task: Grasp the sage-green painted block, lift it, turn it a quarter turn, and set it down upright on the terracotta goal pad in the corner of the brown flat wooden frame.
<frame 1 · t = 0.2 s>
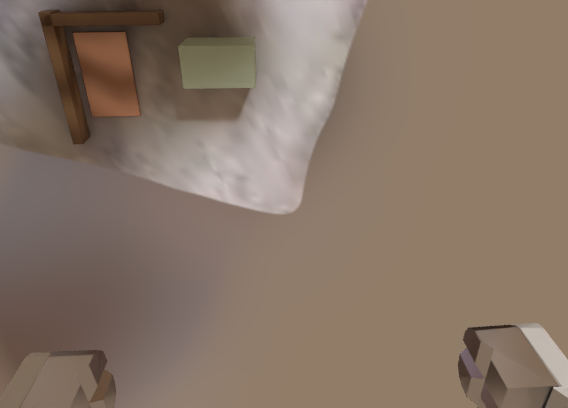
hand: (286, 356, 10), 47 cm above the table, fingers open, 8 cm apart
brown flat wooden frame: (108, 75, 52), on the table
sage block: (222, 56, 52), on the table
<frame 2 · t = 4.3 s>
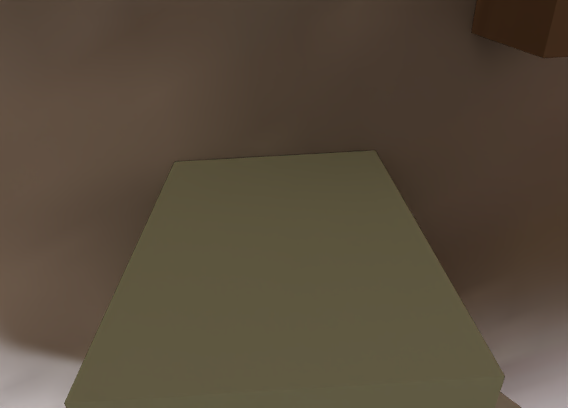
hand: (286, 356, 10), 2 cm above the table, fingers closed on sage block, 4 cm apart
sage block: (283, 292, 12), on the table, touching gripper
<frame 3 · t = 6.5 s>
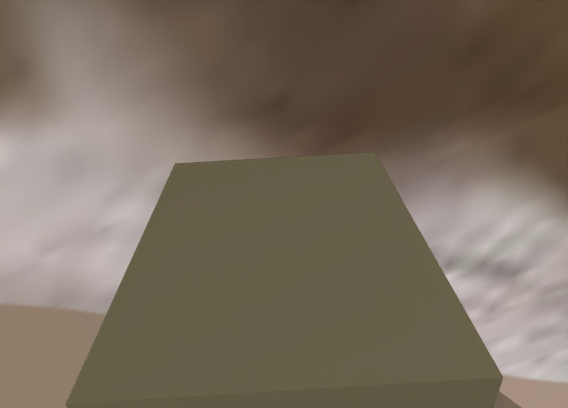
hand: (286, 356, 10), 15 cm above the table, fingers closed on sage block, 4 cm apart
sage block: (283, 293, 12), point 12 cm above the table, touching gripper
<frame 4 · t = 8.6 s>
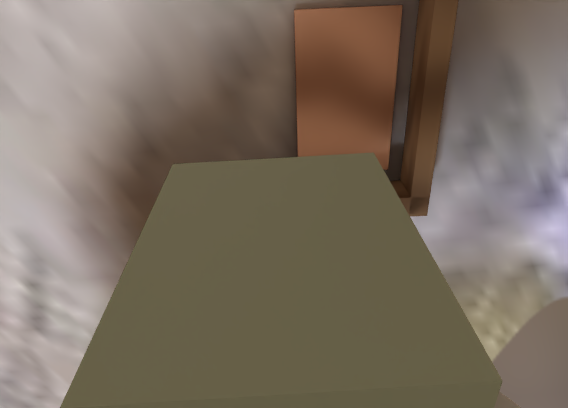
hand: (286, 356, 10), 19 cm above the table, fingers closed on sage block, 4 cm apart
brown flat wooden frame: (344, 96, 26), on the table
sage block: (282, 294, 12), point 17 cm above the table, touching gripper
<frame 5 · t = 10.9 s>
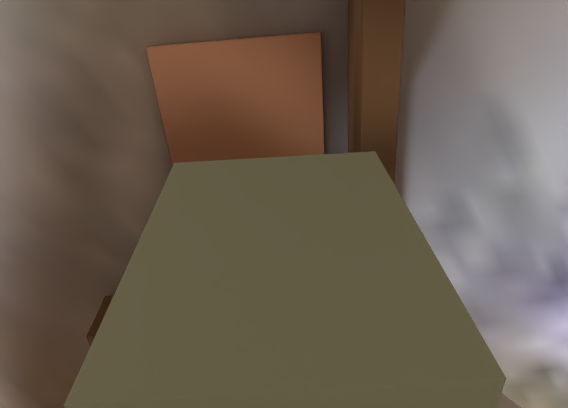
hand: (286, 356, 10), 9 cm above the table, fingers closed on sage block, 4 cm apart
brown flat wooden frame: (250, 169, 17), on the table
sage block: (283, 293, 12), point 7 cm above the table, touching gripper
when the fingers open (4 cm above the table, at t = 12.8 s): sage block drops 1 cm, resting on brown flat wooden frame.
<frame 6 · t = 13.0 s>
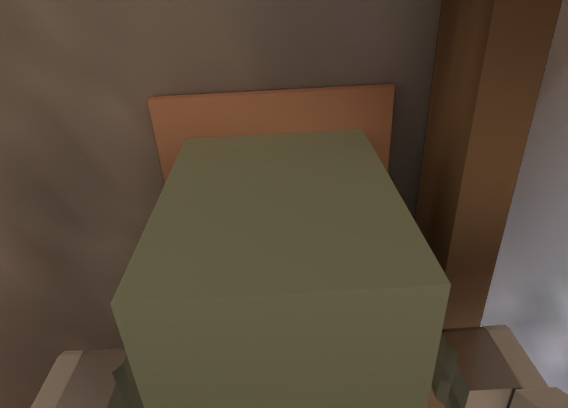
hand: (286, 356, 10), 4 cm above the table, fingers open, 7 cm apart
brown flat wooden frame: (281, 253, 13), on the table
sage block: (281, 259, 13), resting on brown flat wooden frame
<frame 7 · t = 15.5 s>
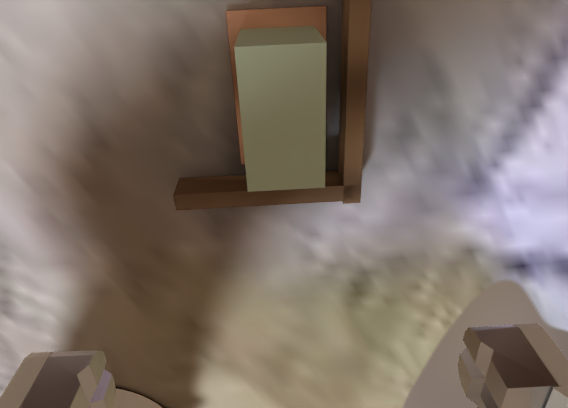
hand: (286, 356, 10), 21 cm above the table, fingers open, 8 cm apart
brown flat wooden frame: (279, 91, 28), on the table
sage block: (280, 92, 28), resting on brown flat wooden frame
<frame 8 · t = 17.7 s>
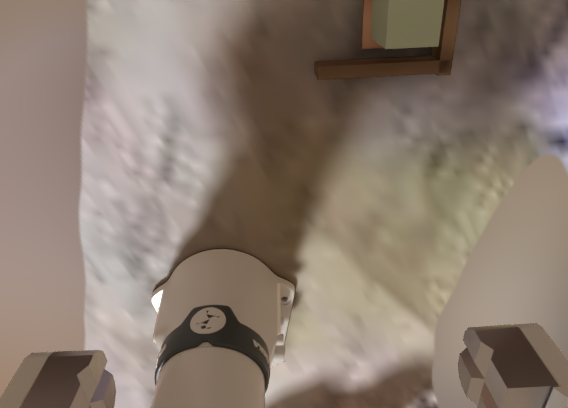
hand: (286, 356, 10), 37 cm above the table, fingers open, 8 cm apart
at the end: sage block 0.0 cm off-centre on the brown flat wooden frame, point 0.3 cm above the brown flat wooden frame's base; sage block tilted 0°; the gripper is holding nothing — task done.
